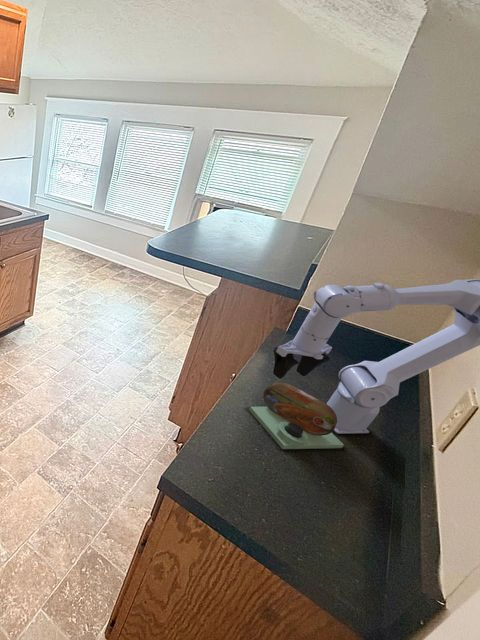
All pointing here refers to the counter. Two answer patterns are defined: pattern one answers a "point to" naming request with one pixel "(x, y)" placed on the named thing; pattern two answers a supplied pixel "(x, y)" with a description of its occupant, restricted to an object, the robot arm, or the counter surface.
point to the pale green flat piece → (286, 441)
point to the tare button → (294, 430)
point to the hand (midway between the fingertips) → (288, 374)
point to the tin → (300, 408)
